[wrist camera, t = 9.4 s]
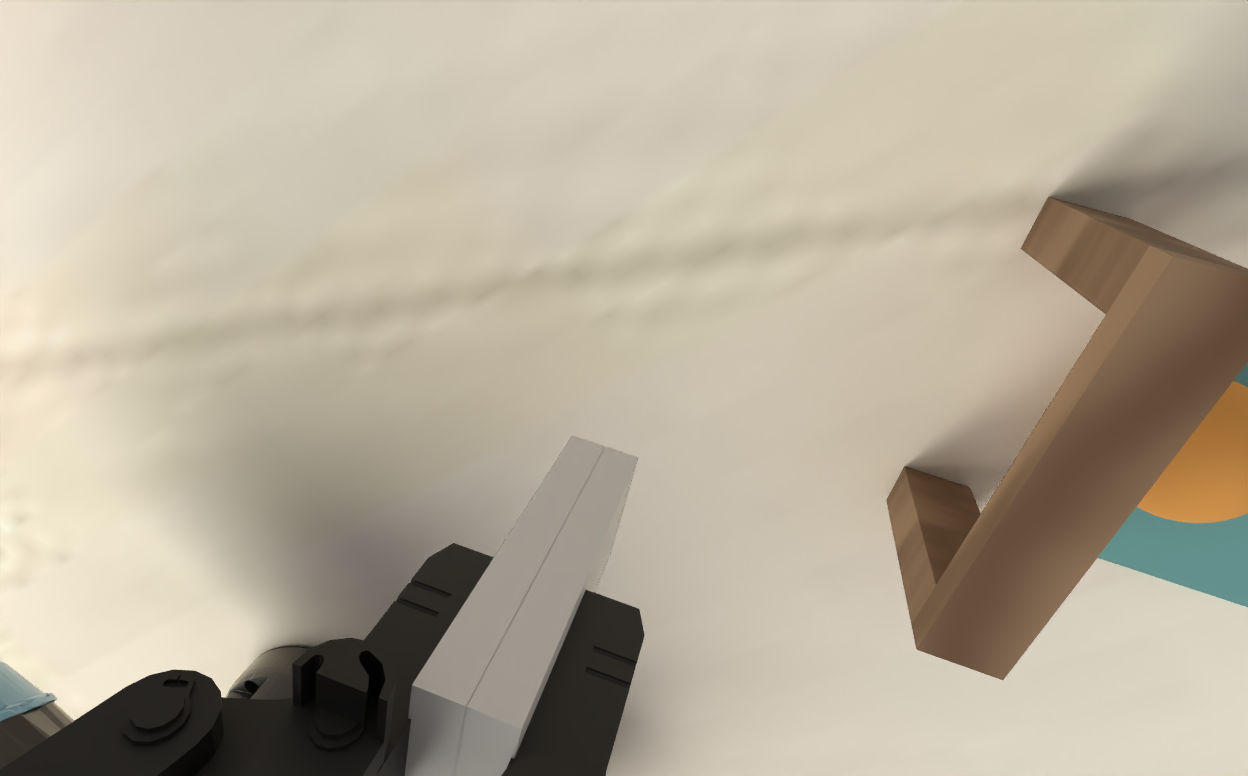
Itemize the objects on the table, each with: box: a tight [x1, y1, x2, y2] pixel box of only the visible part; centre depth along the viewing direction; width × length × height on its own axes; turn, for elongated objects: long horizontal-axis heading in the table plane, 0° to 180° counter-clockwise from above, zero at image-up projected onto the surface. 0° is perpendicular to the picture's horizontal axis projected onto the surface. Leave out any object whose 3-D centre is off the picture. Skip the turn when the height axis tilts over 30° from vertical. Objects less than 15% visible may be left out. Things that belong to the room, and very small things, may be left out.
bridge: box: [887, 197, 1248, 680], centre depth 23 cm, size 3×14×9 cm, turn 167°
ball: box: [1137, 381, 1248, 523], centre depth 24 cm, size 6×6×6 cm
